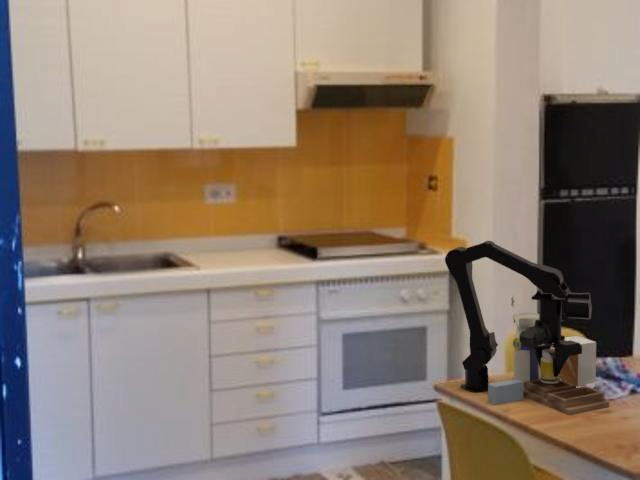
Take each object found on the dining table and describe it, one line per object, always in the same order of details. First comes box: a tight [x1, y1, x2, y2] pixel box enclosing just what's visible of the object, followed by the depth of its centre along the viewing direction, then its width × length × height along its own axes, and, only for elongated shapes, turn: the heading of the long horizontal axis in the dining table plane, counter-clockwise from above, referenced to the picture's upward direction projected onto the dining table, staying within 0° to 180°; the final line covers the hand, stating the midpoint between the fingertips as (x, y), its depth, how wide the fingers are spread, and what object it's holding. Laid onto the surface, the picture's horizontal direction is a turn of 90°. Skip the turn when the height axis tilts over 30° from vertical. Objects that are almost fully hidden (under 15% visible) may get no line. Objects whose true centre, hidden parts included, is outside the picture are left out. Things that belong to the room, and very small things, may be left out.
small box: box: [559, 335, 597, 387], centre depth 245 cm, size 8×6×13 cm
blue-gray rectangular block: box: [487, 379, 524, 406], centre depth 234 cm, size 3×9×5 cm, turn 116°
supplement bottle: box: [540, 348, 559, 384], centre depth 237 cm, size 5×5×8 cm
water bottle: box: [510, 295, 541, 387], centre depth 248 cm, size 8×9×25 cm
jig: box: [523, 379, 610, 416], centre depth 233 cm, size 20×13×3 cm, turn 26°
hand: (549, 374), depth 237 cm, fingers closed on supplement bottle, 5 cm apart
